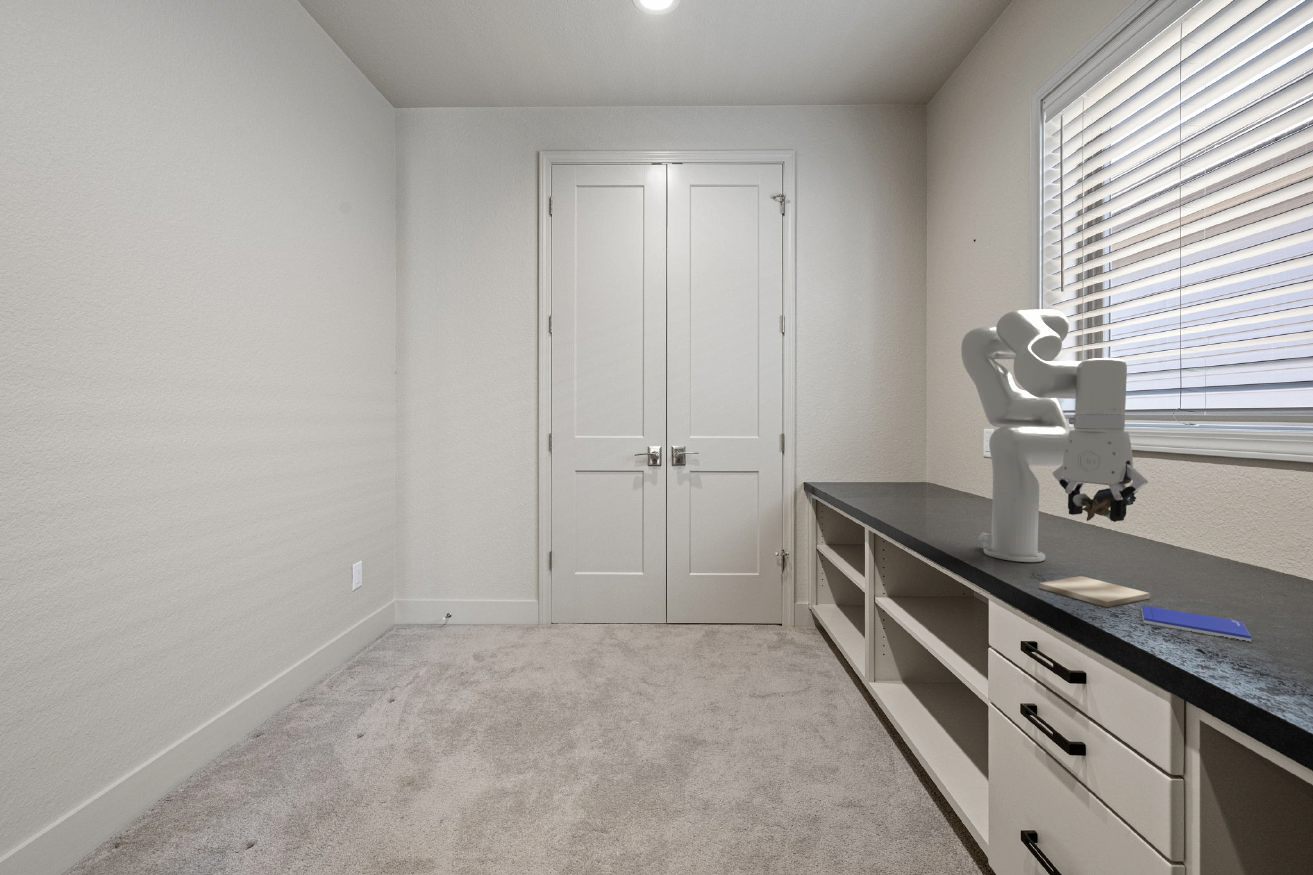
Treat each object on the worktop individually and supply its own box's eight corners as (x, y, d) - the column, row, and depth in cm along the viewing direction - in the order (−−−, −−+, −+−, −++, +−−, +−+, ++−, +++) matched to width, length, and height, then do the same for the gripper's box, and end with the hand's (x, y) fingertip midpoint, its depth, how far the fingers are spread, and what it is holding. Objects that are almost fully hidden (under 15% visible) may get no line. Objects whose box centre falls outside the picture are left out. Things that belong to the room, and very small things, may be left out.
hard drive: (1241, 620, 92) (1141, 604, 100) (1251, 635, 86) (1143, 617, 93) (1240, 629, 92) (1141, 612, 100) (1251, 645, 86) (1143, 626, 93)
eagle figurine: (1121, 520, 102) (1148, 507, 106) (1095, 485, 105) (1121, 474, 109) (1084, 535, 109) (1110, 523, 112) (1060, 502, 112) (1086, 491, 115)
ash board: (1039, 587, 112) (1039, 582, 112) (1080, 580, 117) (1081, 575, 117) (1106, 607, 101) (1107, 601, 101) (1149, 598, 106) (1149, 593, 106)
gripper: (1040, 423, 114) (1037, 511, 115) (1140, 425, 98) (1136, 527, 99) (1064, 423, 117) (1061, 509, 118) (1165, 424, 101) (1161, 524, 102)
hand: (1095, 516), depth 108 cm, fingers closed on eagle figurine, 6 cm apart
